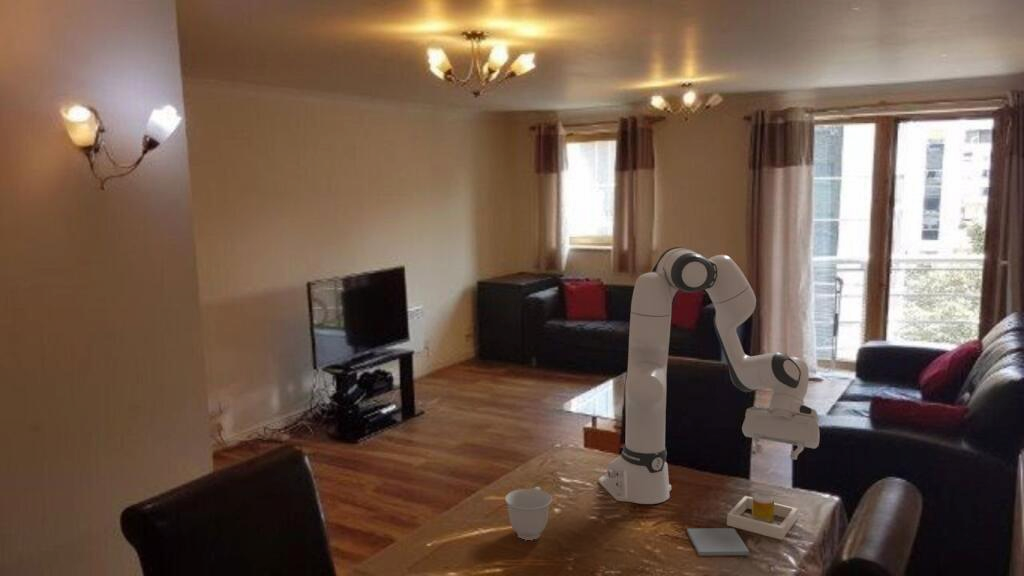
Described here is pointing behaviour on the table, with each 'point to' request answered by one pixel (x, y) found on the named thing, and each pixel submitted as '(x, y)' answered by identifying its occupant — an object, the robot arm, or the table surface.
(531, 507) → the teacup
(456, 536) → the table surface
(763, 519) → the supplement bottle
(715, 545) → the pad
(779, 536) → the bin
